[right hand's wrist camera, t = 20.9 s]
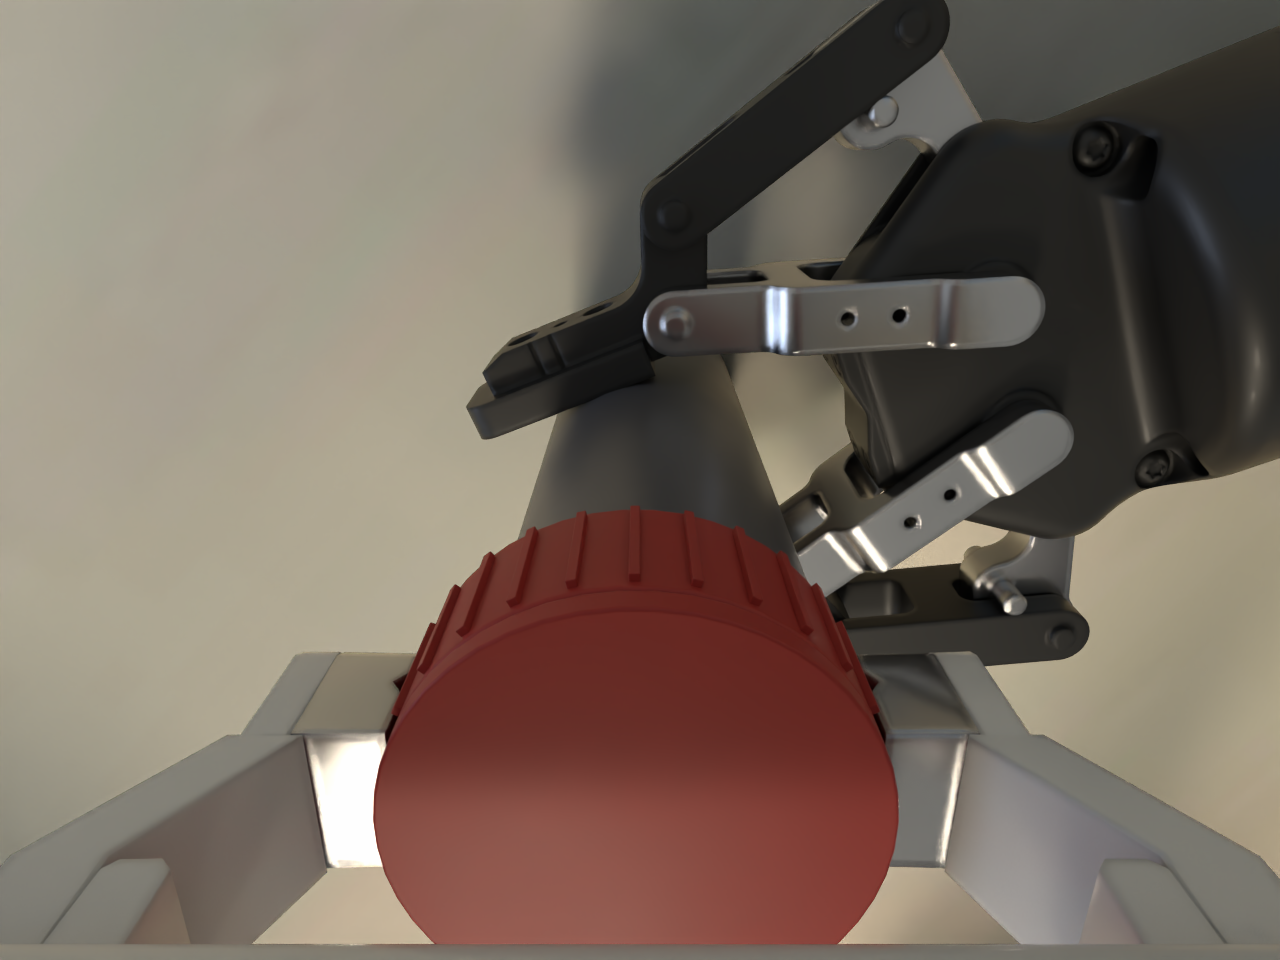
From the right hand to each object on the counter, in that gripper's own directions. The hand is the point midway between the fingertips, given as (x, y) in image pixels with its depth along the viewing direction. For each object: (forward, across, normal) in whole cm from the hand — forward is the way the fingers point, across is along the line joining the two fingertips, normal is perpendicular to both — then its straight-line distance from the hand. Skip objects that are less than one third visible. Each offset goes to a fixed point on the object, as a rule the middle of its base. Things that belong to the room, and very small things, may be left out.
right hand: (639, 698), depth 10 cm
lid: (-2, 0, 0) cm, 2 cm away
